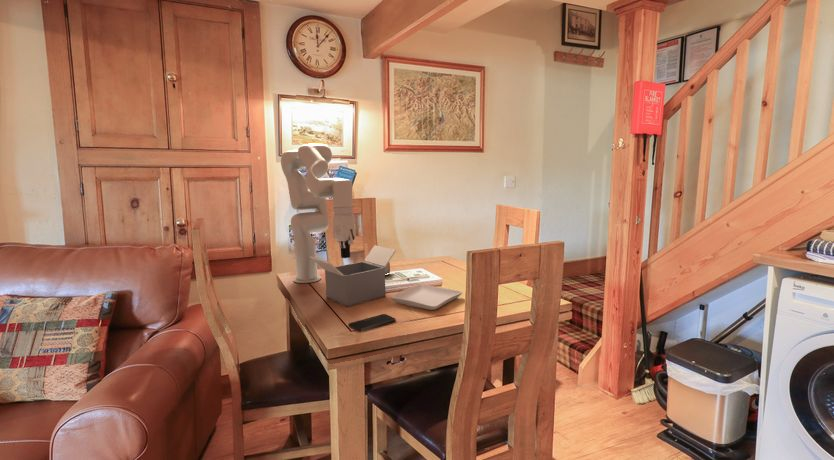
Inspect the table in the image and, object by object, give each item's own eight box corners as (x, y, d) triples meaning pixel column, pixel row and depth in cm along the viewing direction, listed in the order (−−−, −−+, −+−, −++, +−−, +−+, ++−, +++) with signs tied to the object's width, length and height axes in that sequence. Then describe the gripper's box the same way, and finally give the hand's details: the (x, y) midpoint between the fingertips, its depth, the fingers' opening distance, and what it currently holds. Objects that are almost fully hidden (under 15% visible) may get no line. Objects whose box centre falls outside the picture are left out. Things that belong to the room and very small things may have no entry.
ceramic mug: (390, 276, 209) (390, 260, 208) (373, 278, 207) (372, 261, 206) (387, 271, 219) (387, 256, 218) (371, 272, 218) (370, 257, 217)
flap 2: (374, 245, 191) (375, 245, 191) (364, 260, 188) (364, 261, 189) (395, 249, 180) (396, 250, 180) (384, 266, 177) (385, 267, 178)
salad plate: (463, 298, 174) (463, 290, 174) (435, 315, 157) (435, 305, 156) (419, 291, 186) (419, 283, 186) (388, 305, 169) (388, 296, 168)
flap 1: (329, 262, 161) (328, 263, 160) (343, 274, 165) (342, 276, 165) (310, 256, 172) (309, 257, 172) (324, 268, 176) (323, 269, 176)
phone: (397, 319, 150) (358, 330, 142) (397, 322, 151) (358, 333, 142) (384, 313, 157) (346, 323, 148) (384, 316, 157) (347, 326, 148)
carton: (326, 297, 179) (324, 268, 177) (363, 288, 190) (362, 261, 189) (347, 306, 167) (345, 276, 165) (385, 296, 178) (384, 267, 177)
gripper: (325, 210, 174) (328, 256, 177) (344, 213, 163) (347, 262, 166) (342, 209, 179) (344, 253, 182) (361, 211, 167) (364, 259, 170)
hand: (345, 257), depth 174 cm, fingers closed
